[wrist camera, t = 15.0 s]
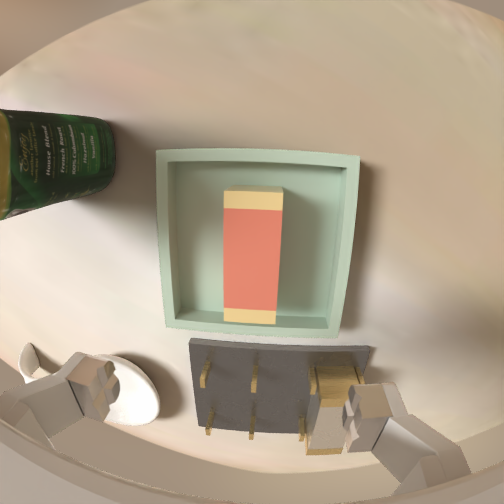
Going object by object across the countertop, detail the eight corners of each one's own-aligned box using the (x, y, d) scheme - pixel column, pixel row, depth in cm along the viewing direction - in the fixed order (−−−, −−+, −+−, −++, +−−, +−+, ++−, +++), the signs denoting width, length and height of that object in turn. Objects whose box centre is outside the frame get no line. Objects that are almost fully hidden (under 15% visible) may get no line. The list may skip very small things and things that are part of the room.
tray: (350, 156, 24) (360, 156, 21) (332, 321, 29) (337, 338, 26) (168, 150, 25) (155, 150, 22) (175, 312, 30) (165, 327, 27)
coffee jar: (116, 109, 24) (-46, 85, 6) (123, 189, 26) (-40, 243, 9) (46, 132, 25) (-95, 142, 7) (52, 201, 27) (-85, 252, 10)
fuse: (281, 186, 24) (283, 192, 20) (275, 296, 28) (275, 324, 23) (233, 184, 25) (223, 190, 20) (232, 294, 28) (223, 321, 23)
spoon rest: (158, 346, 32) (135, 386, 25) (174, 413, 35) (160, 453, 28) (22, 322, 33) (-7, 345, 27) (46, 382, 37) (24, 408, 30)
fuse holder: (367, 345, 29) (382, 381, 24) (341, 426, 34) (348, 461, 28) (190, 337, 31) (175, 373, 25) (200, 420, 35) (190, 454, 29)
